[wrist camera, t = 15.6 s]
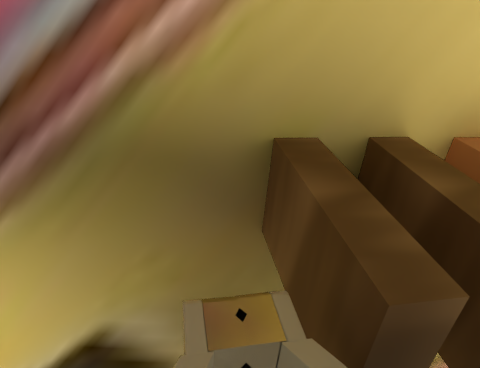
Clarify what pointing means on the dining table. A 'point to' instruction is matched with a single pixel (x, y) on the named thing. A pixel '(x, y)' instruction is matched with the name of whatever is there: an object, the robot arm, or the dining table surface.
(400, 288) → the domino
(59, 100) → the dining table surface
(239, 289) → the dining table surface
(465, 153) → the domino
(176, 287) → the dining table surface
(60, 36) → the dining table surface
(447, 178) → the domino
